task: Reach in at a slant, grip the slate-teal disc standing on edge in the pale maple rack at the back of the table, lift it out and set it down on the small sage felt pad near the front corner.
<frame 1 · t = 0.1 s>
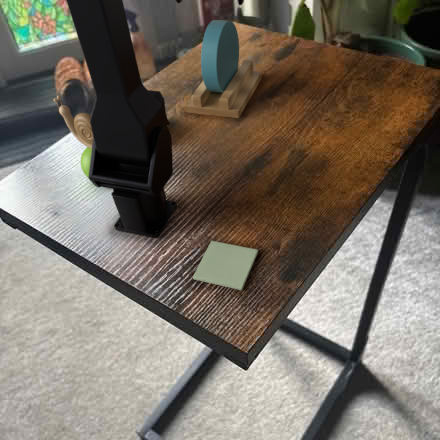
hand: (210, 3, 64), 15 cm above the table, tool pointing down, fingers open, 9 cm apart
snail figurine: (104, 179, 67), on the table
disc: (221, 57, 72), point 6 cm above the table, touching rack
felt pad: (226, 265, 54), on the table
rack: (225, 95, 77), on the table
tape measure: (146, 140, 72), on the table
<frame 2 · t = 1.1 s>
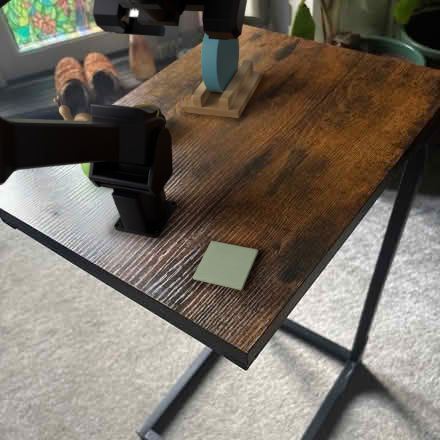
hand: (194, 34, 62), 13 cm above the table, tool tilted 45°, fingers open, 9 cm apart
nothing on the table moved.
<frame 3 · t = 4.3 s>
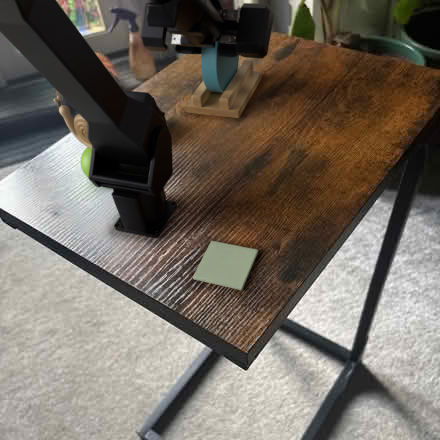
hand: (223, 50, 72), 7 cm above the table, tool tilted 45°, fingers closed on disc, 2 cm apart
disc: (220, 57, 72), point 6 cm above the table, touching gripper, rack
everything else where it was.
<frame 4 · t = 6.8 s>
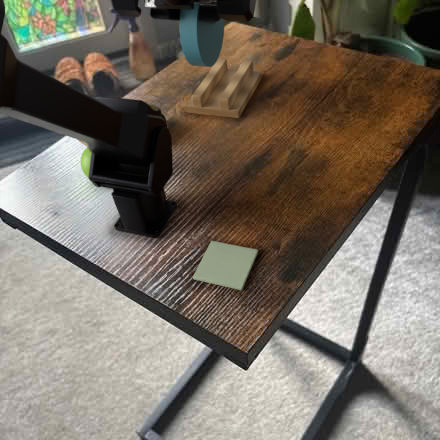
hand: (206, 19, 64), 13 cm above the table, tool tilted 45°, fingers closed on disc, 2 cm apart
disc: (203, 26, 64), point 13 cm above the table, touching gripper
everything else where it was.
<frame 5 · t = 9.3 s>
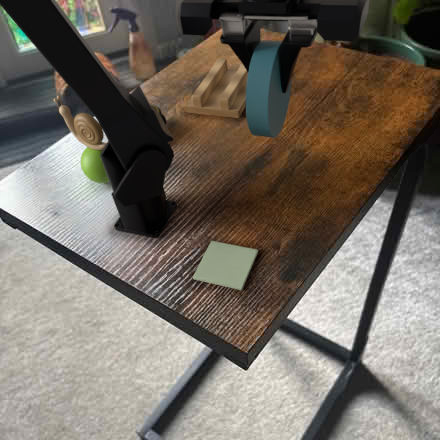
hand: (273, 90, 54), 12 cm above the table, tool pointing down, fingers closed on disc, 2 cm apart
disc: (270, 90, 52), point 13 cm above the table, tilted 44°, touching gripper
everything else where it was.
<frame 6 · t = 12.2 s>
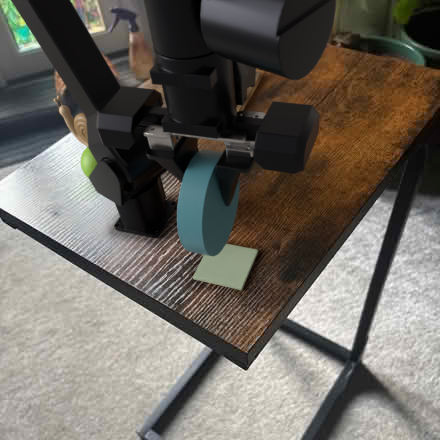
hand: (216, 200, 46), 10 cm above the table, tool pointing down, fingers closed on disc, 2 cm apart
disc: (210, 203, 45), point 11 cm above the table, tilted 45°, touching gripper
everything else where it was.
when the fingers open (5 cm above the table, at t = 14.0 s): disc stays where it is, resting on felt pad.
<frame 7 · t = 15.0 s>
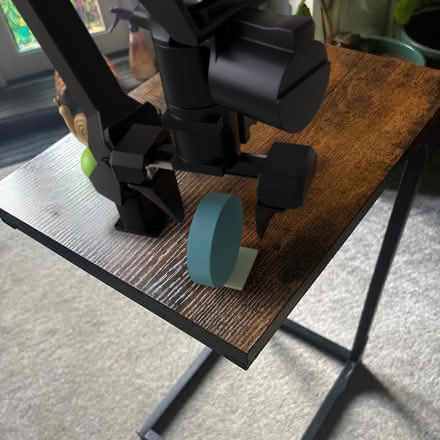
hand: (220, 228, 49), 6 cm above the table, tool pointing down, fingers open, 9 cm apart
disc: (217, 240, 49), point 5 cm above the table, tilted 46°, touching felt pad
everything else where it was.
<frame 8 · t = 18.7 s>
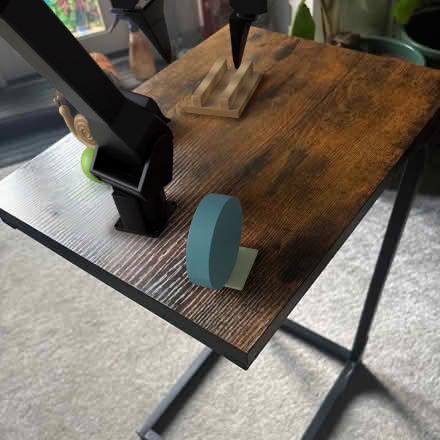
hand: (202, 64, 57), 13 cm above the table, tool pointing down, fingers open, 9 cm apart
nothing on the table moved.
at the end: disc inside the target area on the felt pad (1.3 cm from its centre), point 5.4 cm above the felt pad's base; disc touching felt pad; the gripper is holding nothing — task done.
